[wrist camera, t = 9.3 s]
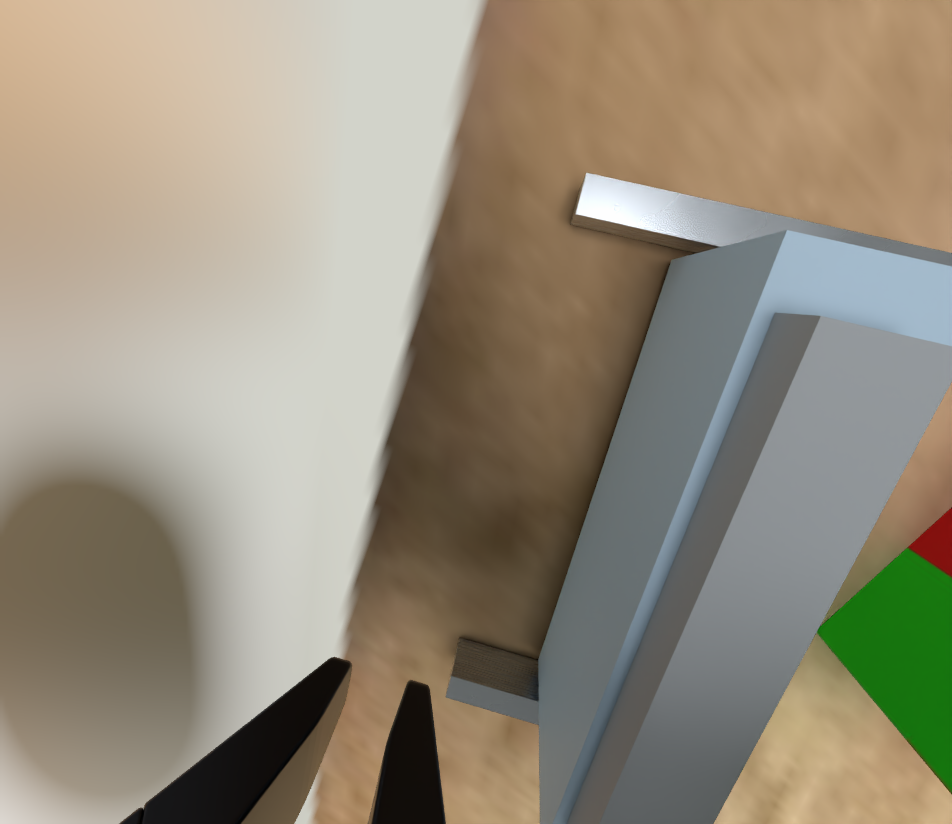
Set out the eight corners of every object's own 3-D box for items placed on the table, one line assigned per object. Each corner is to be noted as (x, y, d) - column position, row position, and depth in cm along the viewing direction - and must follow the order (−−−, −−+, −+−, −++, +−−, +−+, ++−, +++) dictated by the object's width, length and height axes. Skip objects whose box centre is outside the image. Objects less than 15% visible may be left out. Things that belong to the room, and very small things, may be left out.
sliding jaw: (623, 684, 14) (687, 969, 8) (538, 659, 14) (541, 921, 8) (785, 285, 10) (1100, 273, 5) (671, 259, 11) (838, 216, 5)
